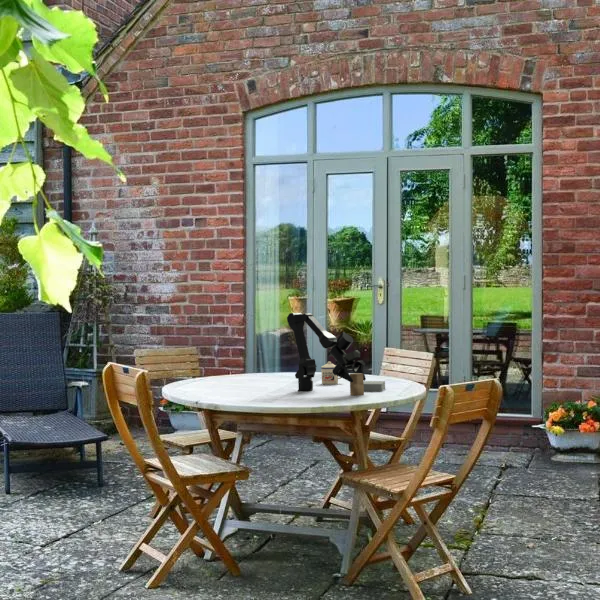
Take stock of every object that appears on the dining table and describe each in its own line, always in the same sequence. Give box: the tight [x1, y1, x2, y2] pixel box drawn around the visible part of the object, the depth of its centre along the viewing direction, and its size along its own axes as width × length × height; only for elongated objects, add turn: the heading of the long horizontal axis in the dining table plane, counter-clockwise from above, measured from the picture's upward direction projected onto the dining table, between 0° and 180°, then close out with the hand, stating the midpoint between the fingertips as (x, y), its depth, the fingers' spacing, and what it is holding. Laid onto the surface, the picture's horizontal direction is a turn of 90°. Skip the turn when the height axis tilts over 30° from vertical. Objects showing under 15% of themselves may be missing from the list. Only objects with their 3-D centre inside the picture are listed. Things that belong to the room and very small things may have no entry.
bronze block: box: [349, 372, 365, 397], centre depth 398 cm, size 4×4×10 cm
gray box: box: [363, 380, 386, 392], centre depth 416 cm, size 12×12×4 cm
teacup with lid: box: [320, 361, 342, 385], centre depth 449 cm, size 12×9×12 cm
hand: (358, 381), depth 397 cm, fingers open, 9 cm apart
